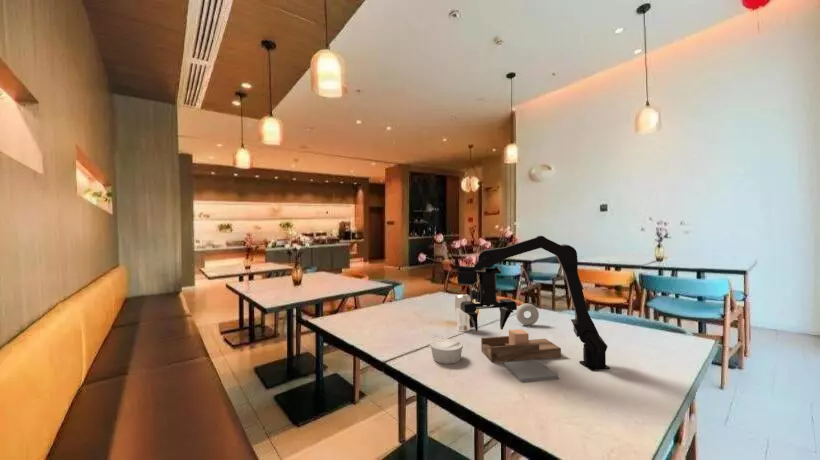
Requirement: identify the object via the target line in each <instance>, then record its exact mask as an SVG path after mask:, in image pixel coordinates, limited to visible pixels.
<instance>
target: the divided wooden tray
mask: <svg viewBox="0 0 820 460" xmlns="http://www.w3.org/2000/svg"><path fill="white" fill-rule="evenodd" d="M480 339H481V340H480V342H481V346H480V347H481V353H482V354H483V355H484V356H485V357H486V358H487V359H488V360H489V361H490V362H491V363H501V362H502V363H504V362H514V361H527V360H540V359H550V358H553V359H554V358H561V357H562V348H561V347H560V346H559V345H556V344H555V343H553V342H552V341H550V340H548V339H547V338H537V339H529V344H518V345H510V344H509V335H503V336H490V337H489V336H488V337H481V338H480Z"/></svg>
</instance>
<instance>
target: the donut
mask: <svg viewBox="0 0 820 460" xmlns="http://www.w3.org/2000/svg"><path fill="white" fill-rule="evenodd" d="M525 312H529V313H530V316H529V317H525ZM515 315H516V316H515V317H516V319H517V321H518V322H519V324H521V325H523V326H527V327H528V326H532V325H534V324H536V323H537V321H538V320H539V317H540V314H539V310H538V308H537V307H536V306H535V305H534V304H531V303H523V304H520V305H519V306H517V310H515Z"/></svg>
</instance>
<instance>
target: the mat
mask: <svg viewBox="0 0 820 460" xmlns="http://www.w3.org/2000/svg"><path fill="white" fill-rule="evenodd" d="M503 366H504V367H505V368H506V369H507V370H508V371H509V372H510V373H511V374H512V375H513V377H515V378H516V380H518V381H519V382H520V383H526V382H537V381H545V380H546V381H547V380H559V379H560V378H559V376H560V375H559V373H556V372H555V371H554V370H553V369H551V368H550V367H548V366H547V365H546V364H545V363H543V361H541V360H540V359H528V360H516V361H503Z"/></svg>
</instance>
